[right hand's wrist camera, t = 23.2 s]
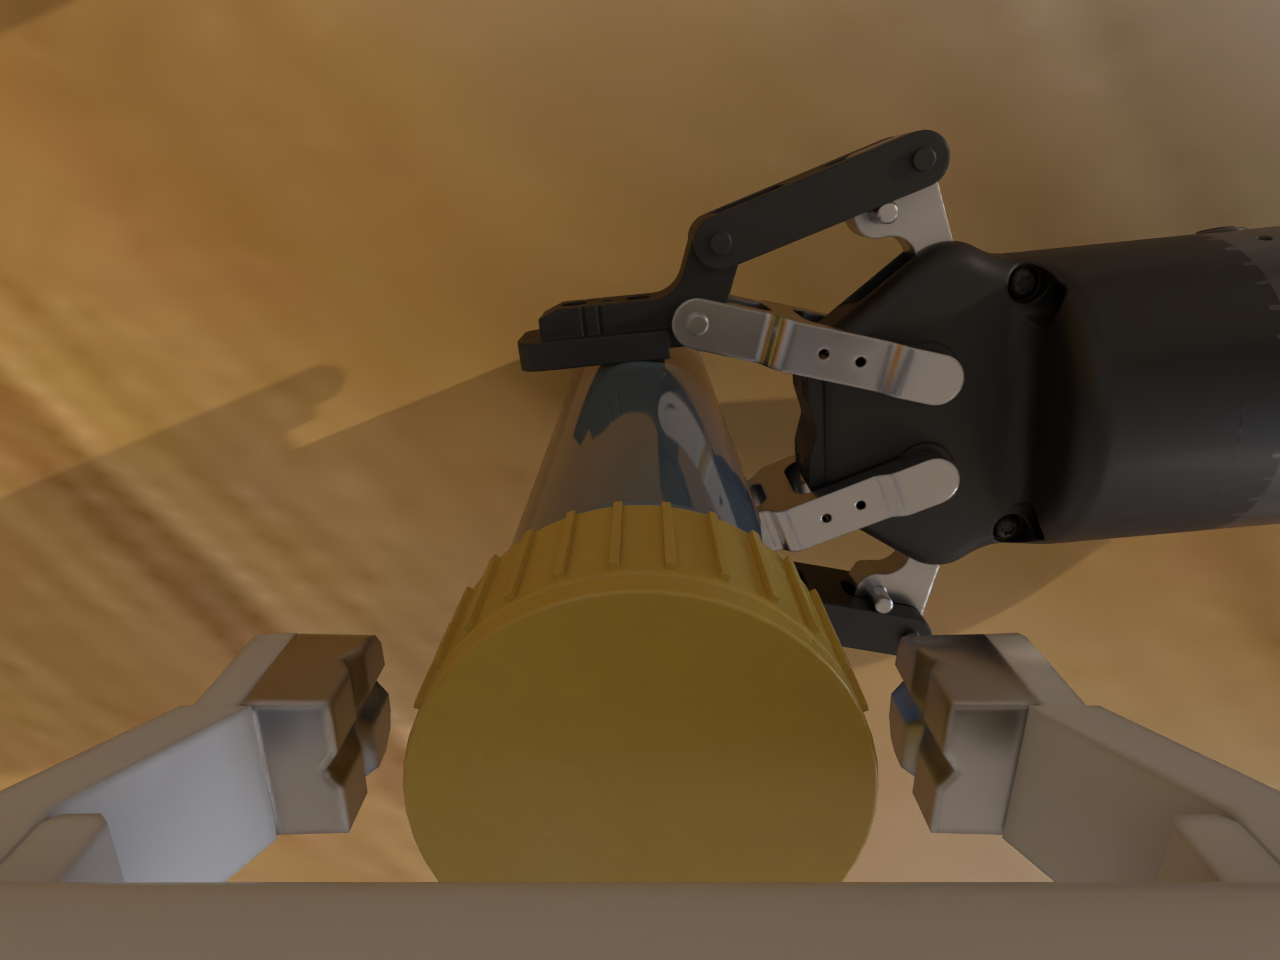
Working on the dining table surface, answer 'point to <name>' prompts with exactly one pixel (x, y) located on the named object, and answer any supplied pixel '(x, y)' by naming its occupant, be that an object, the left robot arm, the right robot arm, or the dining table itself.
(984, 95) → the dining table surface
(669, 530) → the lid
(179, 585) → the dining table surface
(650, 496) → the jar
